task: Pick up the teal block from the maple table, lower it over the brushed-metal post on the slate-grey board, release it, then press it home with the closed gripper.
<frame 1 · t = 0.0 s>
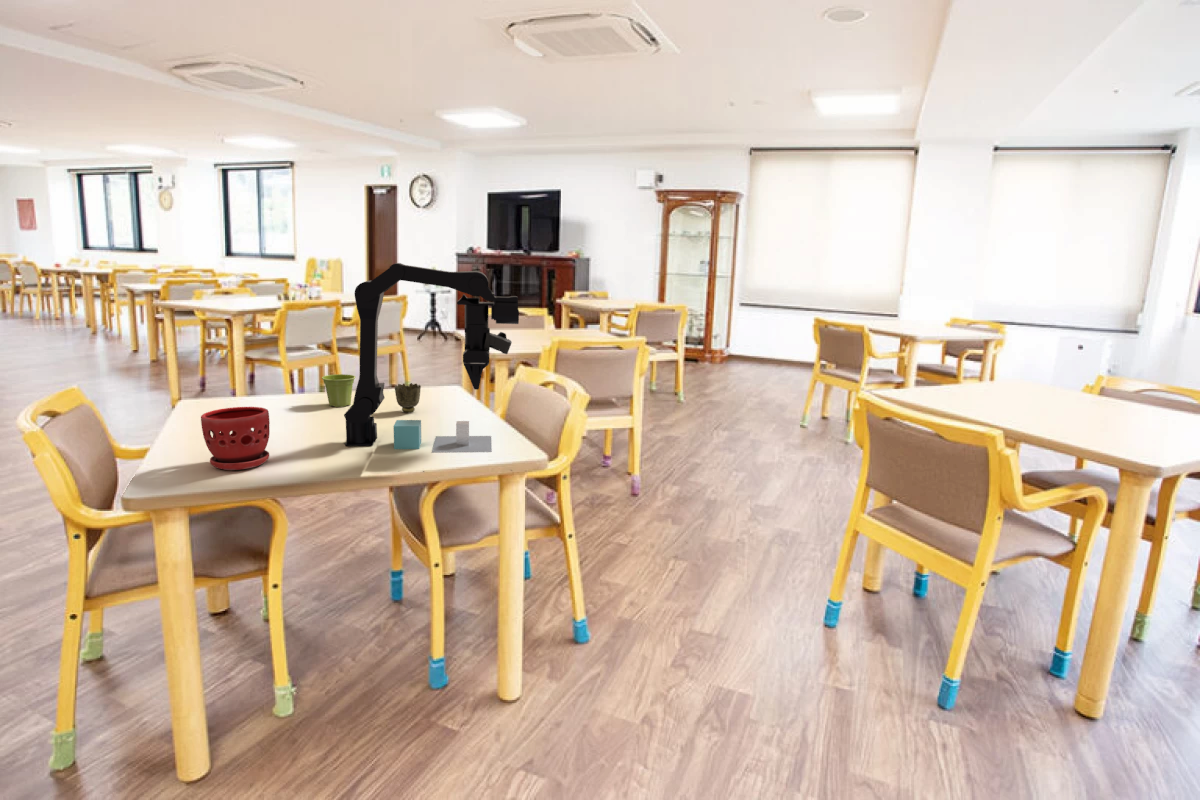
hand: (476, 385, 172), 15 cm above the table, fingers open, 9 cm apart
post: (462, 443, 170), resting on base board
scalloped urn planter: (408, 412, 203), on the table
base board: (462, 447, 170), on the table
teal block: (408, 449, 167), on the table
plant pot 2: (239, 465, 152), on the table
plant pot: (340, 405, 208), on the table
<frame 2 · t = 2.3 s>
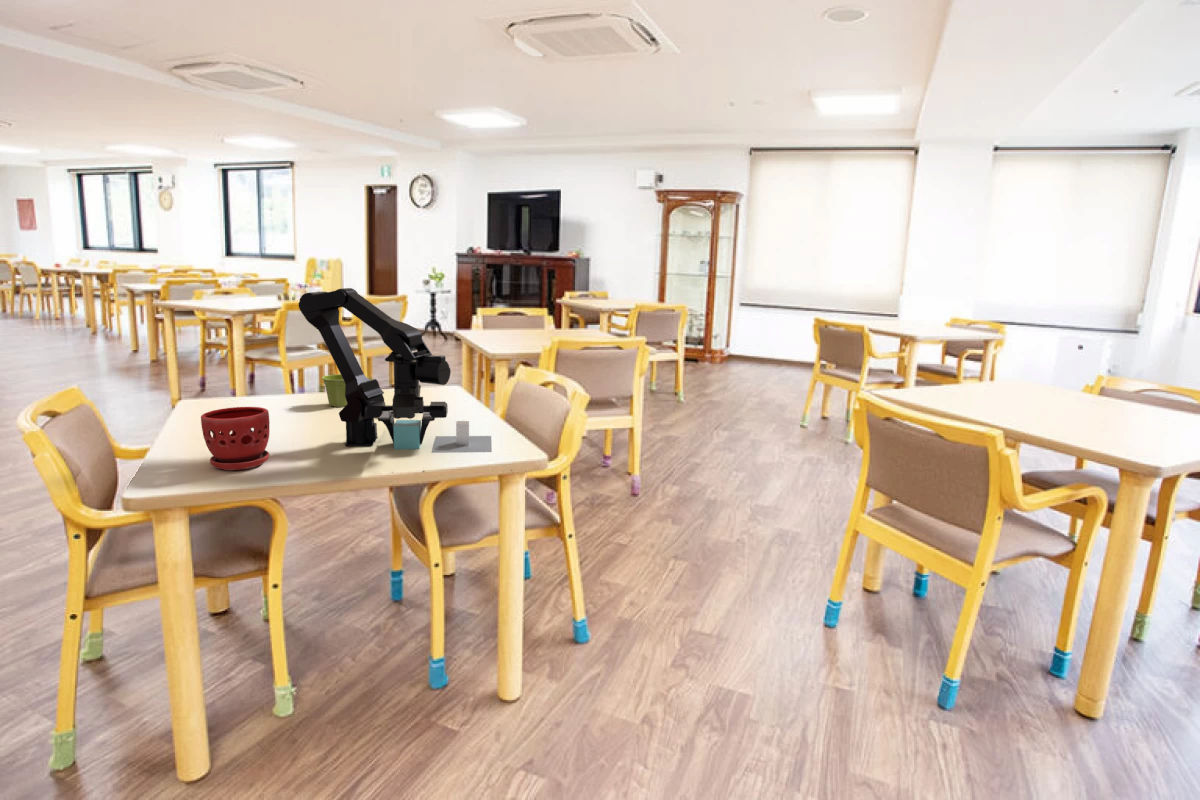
hand: (408, 444, 167), 1 cm above the table, fingers closed on teal block, 6 cm apart
teal block: (408, 449, 167), on the table, touching gripper
everything else where it was.
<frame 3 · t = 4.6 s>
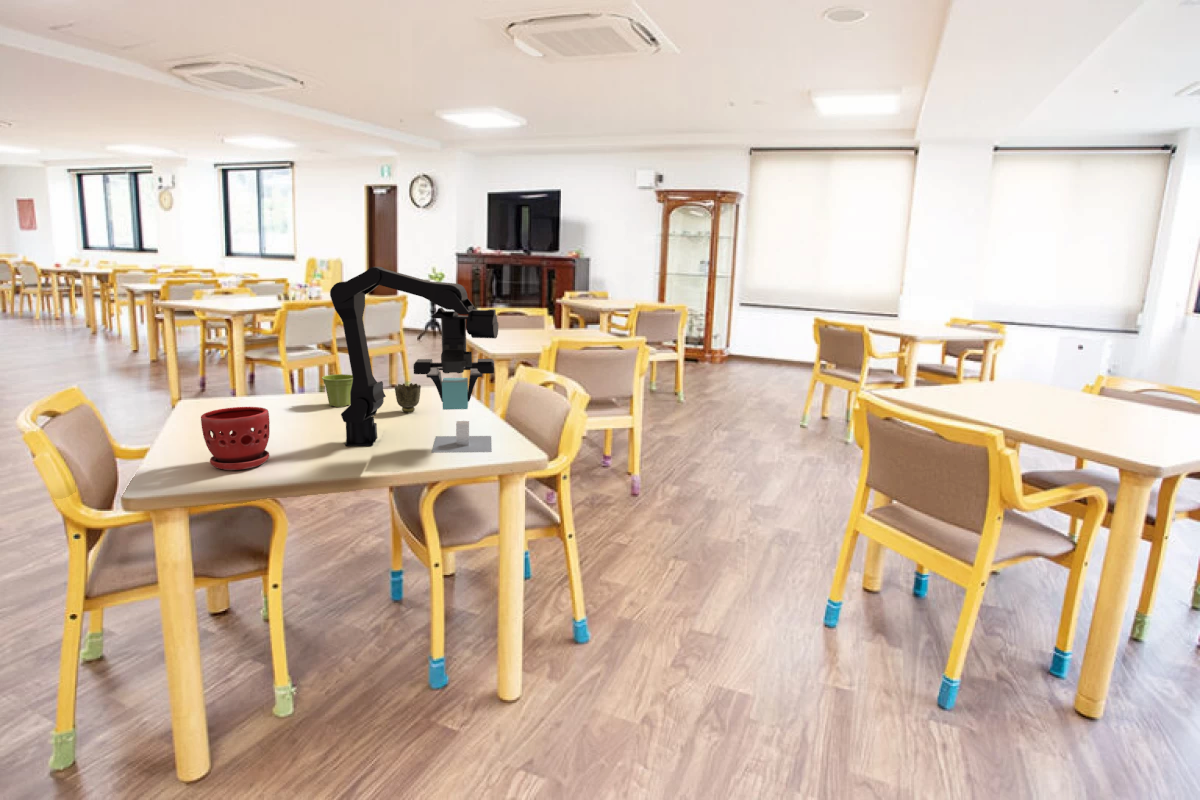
hand: (455, 401, 167), 12 cm above the table, fingers closed on teal block, 6 cm apart
teal block: (455, 406, 167), point 11 cm above the table, touching gripper
everything else where it was.
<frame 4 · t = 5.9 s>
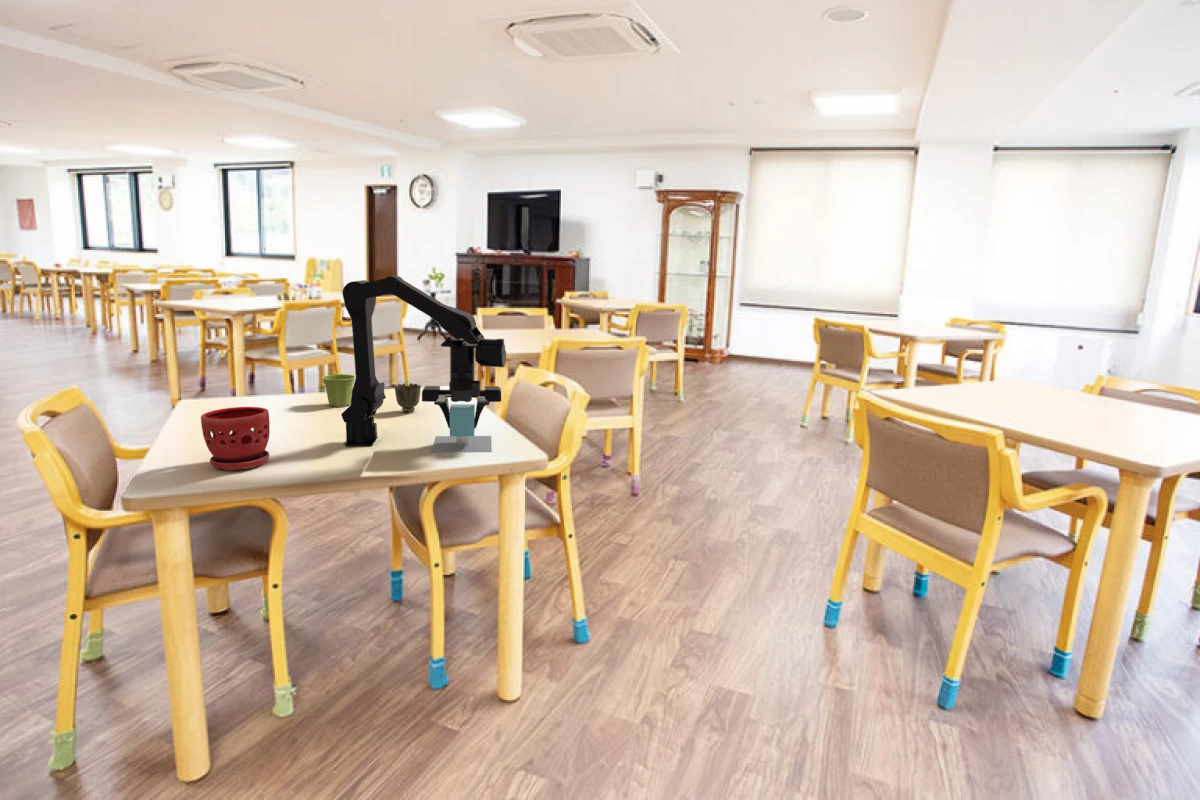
hand: (462, 428, 169), 5 cm above the table, fingers closed on teal block, 6 cm apart
teal block: (462, 433, 169), point 4 cm above the table, touching gripper
everything else where it was.
when the fingers open (4 cm above the table, at t = 6.6 s): teal block drops 2 cm, resting on base board.
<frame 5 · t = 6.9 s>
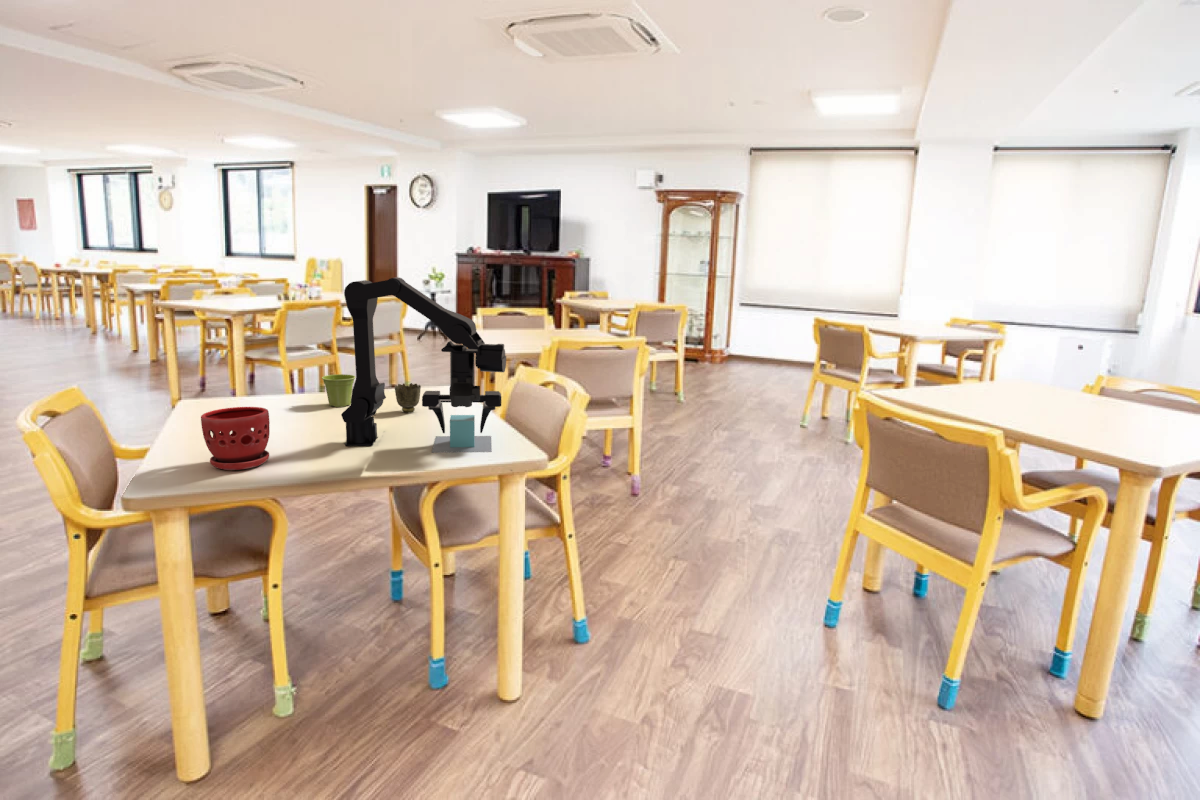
hand: (462, 432, 169), 4 cm above the table, fingers open, 9 cm apart
teal block: (462, 443, 170), point 1 cm above the table, touching base board
everything else where it was.
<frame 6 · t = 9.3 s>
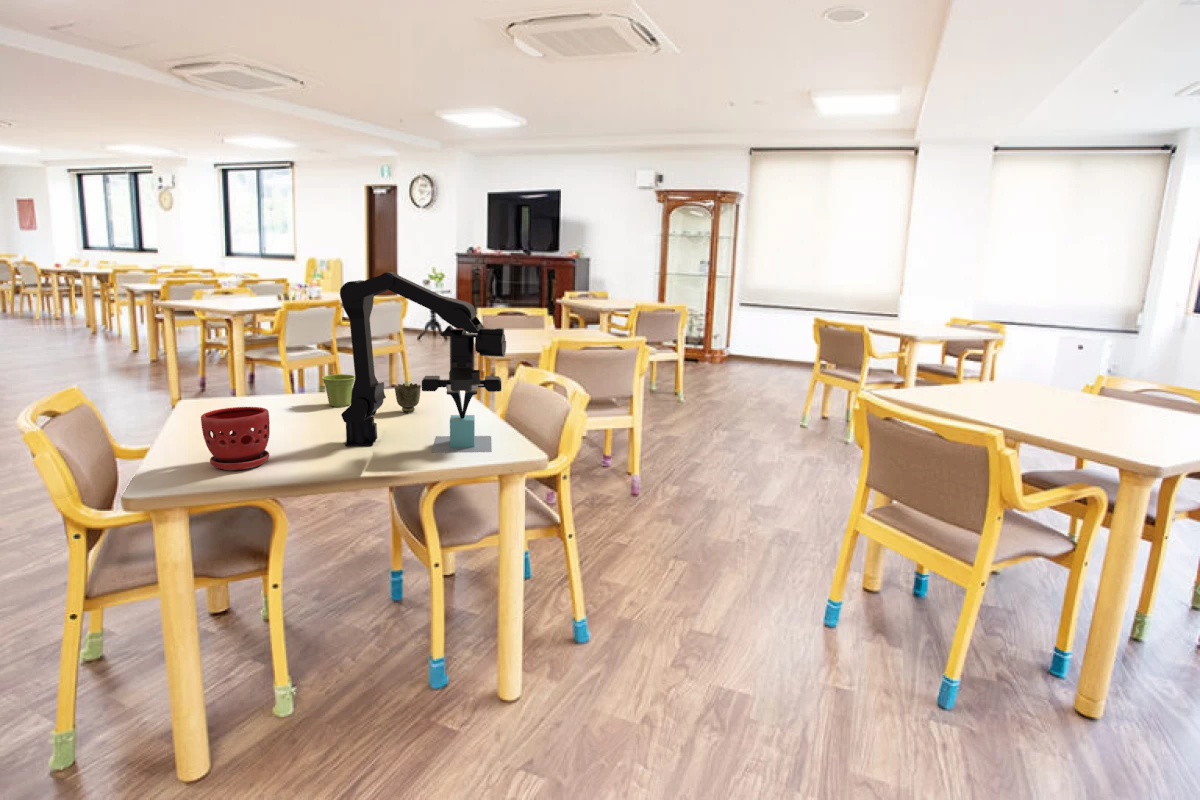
hand: (462, 418, 168), 8 cm above the table, fingers closed, pressing on teal block
teal block: (462, 443, 170), point 1 cm above the table, touching base board, gripper
everything else where it was.
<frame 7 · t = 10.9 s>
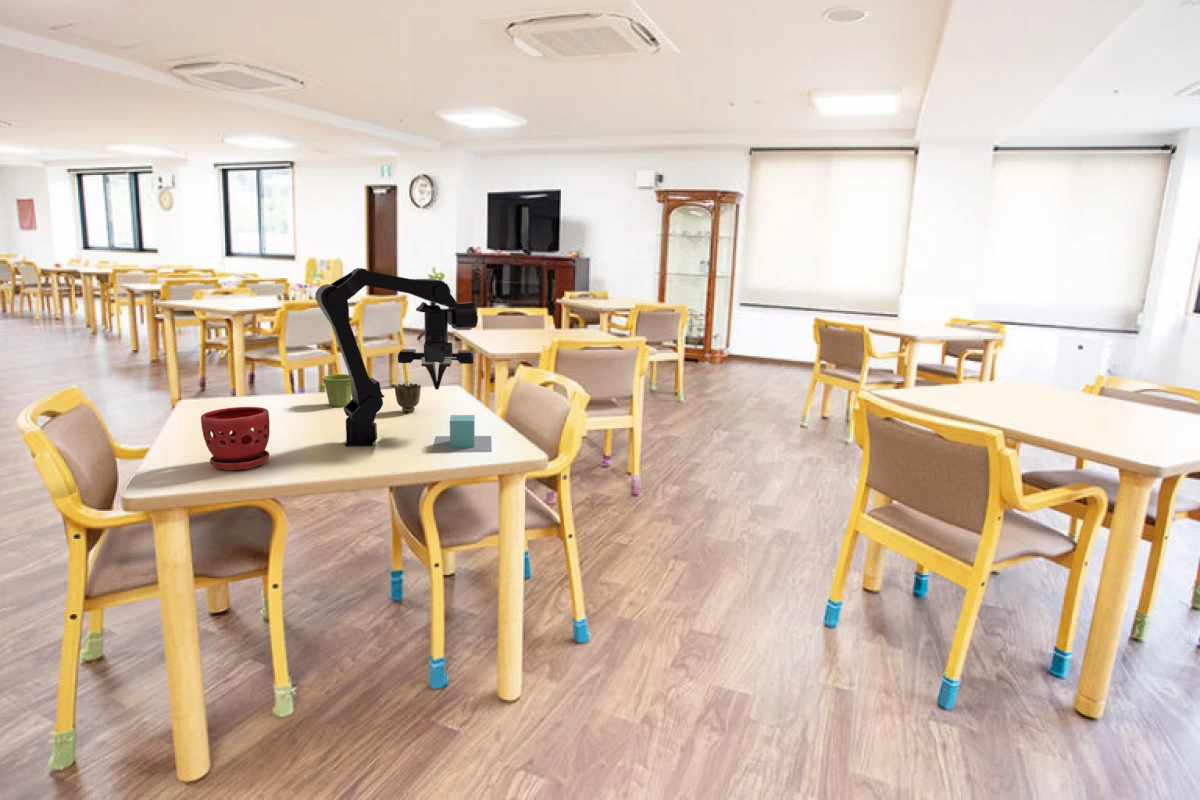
hand: (437, 389, 179), 12 cm above the table, fingers closed
teal block: (462, 443, 170), point 1 cm above the table, touching base board
everything else where it was.
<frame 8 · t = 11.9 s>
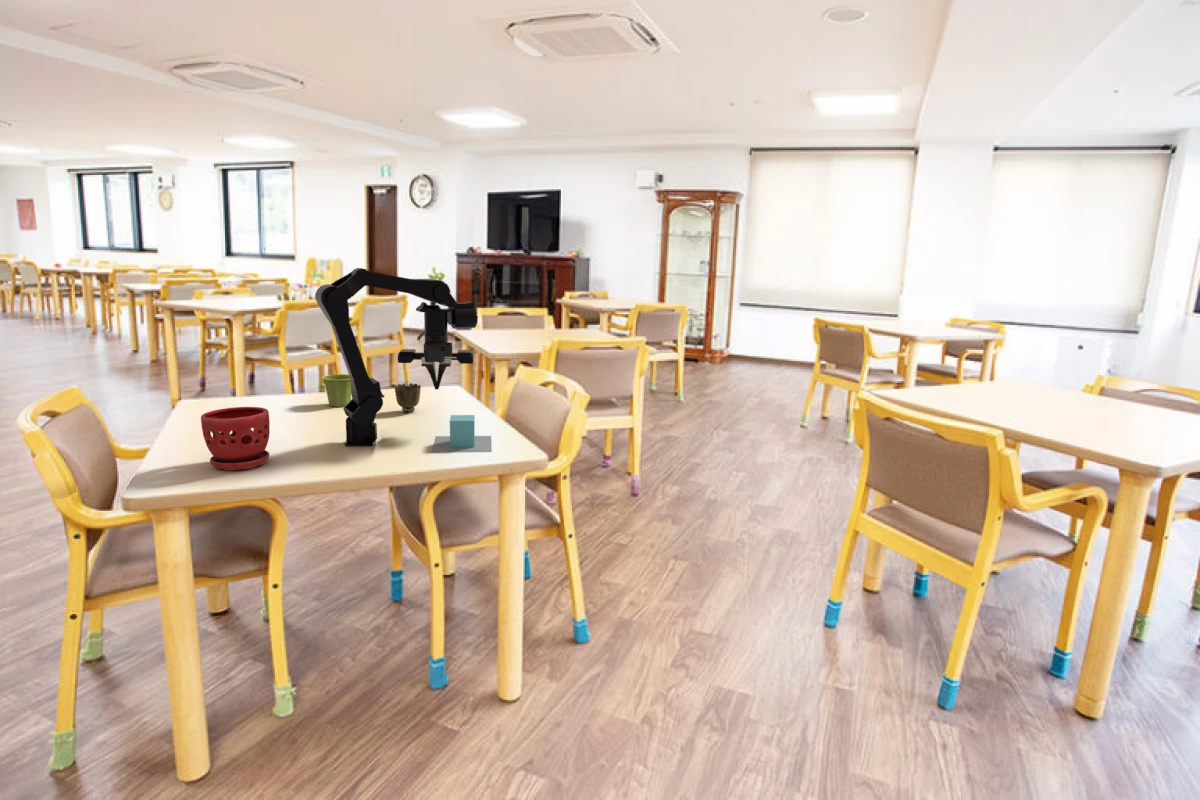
hand: (436, 389, 179), 12 cm above the table, fingers closed
nothing on the table moved.
at the end: teal block 0.1 cm from the post (horizontally); teal block point 1.0 cm above the table; teal block tilted 0° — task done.
